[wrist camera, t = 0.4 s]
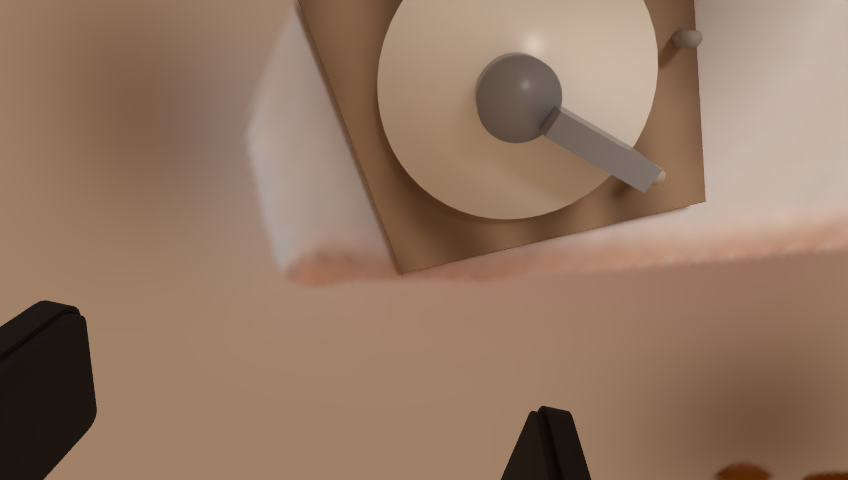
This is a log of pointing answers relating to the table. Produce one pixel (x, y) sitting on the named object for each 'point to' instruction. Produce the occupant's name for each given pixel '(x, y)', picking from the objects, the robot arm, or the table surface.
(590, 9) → the dial
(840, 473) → the table surface
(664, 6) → the dial board
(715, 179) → the table surface
